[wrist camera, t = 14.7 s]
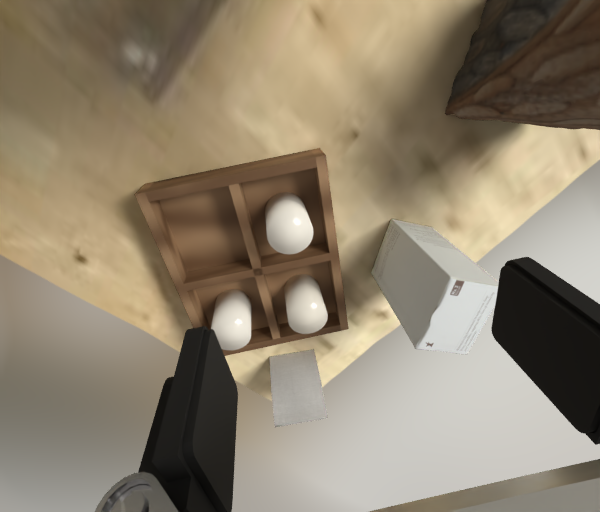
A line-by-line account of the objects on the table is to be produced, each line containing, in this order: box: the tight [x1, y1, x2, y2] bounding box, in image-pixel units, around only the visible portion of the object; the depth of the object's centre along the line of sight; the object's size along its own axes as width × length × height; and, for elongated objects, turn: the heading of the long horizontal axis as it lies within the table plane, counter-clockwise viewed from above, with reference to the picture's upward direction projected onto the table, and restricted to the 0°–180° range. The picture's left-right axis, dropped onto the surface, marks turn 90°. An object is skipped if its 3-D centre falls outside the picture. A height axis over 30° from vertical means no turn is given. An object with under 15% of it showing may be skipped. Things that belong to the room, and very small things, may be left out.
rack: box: [135, 148, 348, 356], centre depth 40 cm, size 23×19×4 cm
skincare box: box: [371, 219, 499, 355], centre depth 37 cm, size 8×6×15 cm
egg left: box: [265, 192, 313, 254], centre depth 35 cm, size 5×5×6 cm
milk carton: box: [269, 349, 327, 427], centre depth 46 cm, size 4×7×10 cm, turn 96°
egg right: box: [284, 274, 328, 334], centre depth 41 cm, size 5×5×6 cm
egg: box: [211, 289, 252, 350], centre depth 40 cm, size 5×5×6 cm
